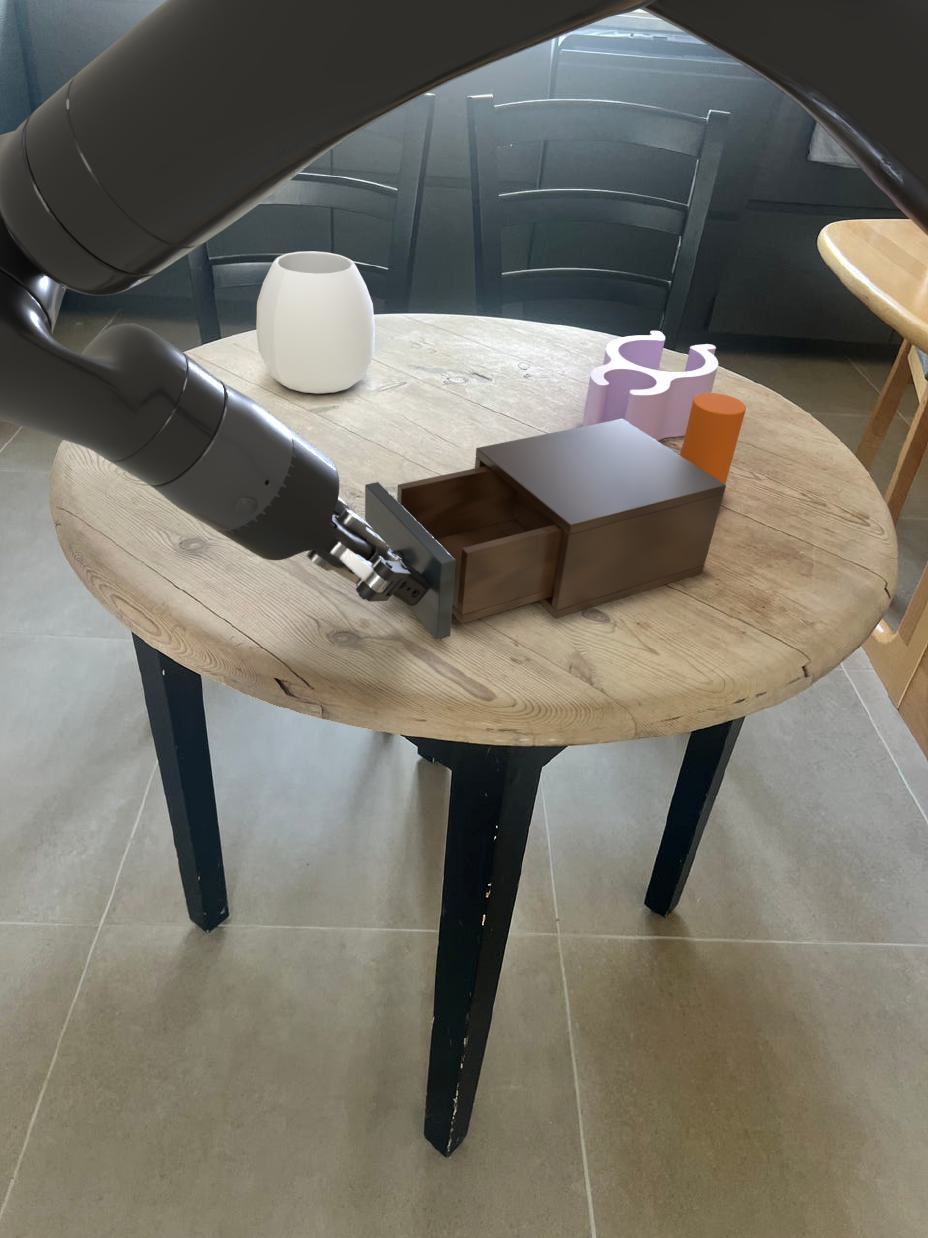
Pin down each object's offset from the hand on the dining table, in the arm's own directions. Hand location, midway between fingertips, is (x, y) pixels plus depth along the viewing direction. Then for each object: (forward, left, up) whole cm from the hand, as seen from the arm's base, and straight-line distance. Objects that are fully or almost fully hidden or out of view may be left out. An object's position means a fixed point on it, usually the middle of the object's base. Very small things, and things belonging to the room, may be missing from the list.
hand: (418, 591), depth 66 cm
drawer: (0, -8, -3) cm, 9 cm away
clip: (0, -48, -4) cm, 49 cm away
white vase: (+35, -34, -4) cm, 49 cm away
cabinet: (-6, -18, -4) cm, 20 cm away
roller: (-11, -34, -4) cm, 36 cm away
